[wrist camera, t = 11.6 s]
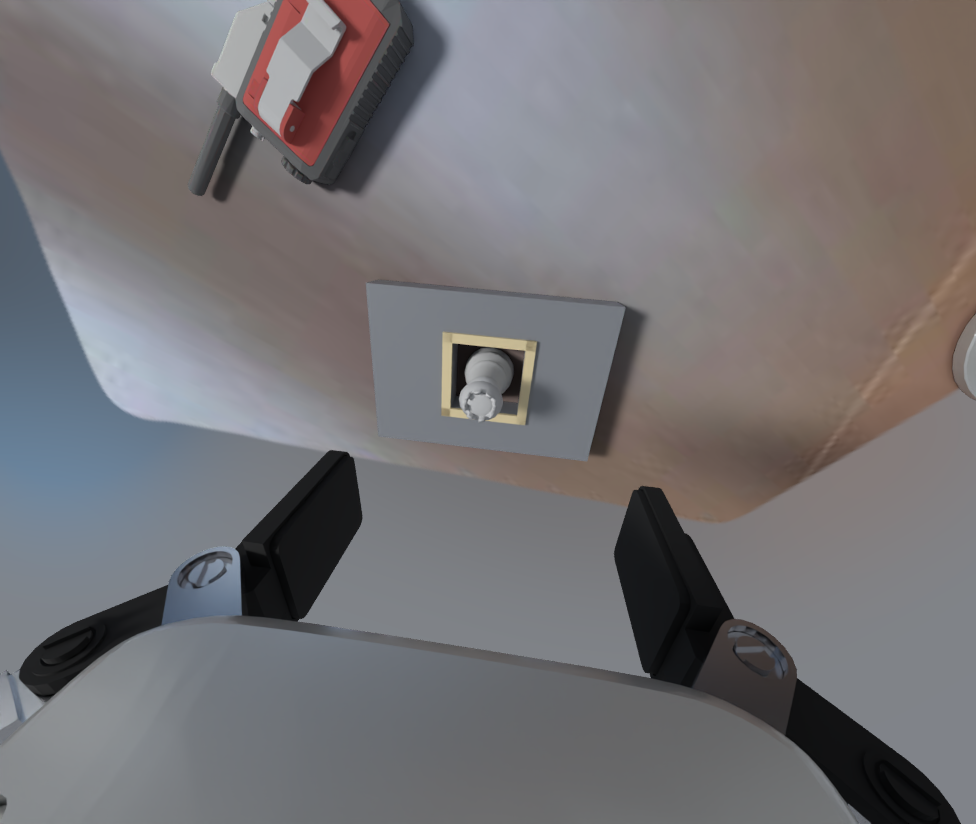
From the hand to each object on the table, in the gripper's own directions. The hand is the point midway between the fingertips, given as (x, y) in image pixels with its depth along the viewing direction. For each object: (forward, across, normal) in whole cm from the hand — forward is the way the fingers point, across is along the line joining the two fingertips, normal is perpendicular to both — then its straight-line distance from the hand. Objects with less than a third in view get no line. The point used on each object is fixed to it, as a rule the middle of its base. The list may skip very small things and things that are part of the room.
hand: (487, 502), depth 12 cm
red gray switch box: (+21, +17, -15) cm, 31 cm away
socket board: (+21, +2, +3) cm, 21 cm away
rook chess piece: (+21, +2, +3) cm, 21 cm away
